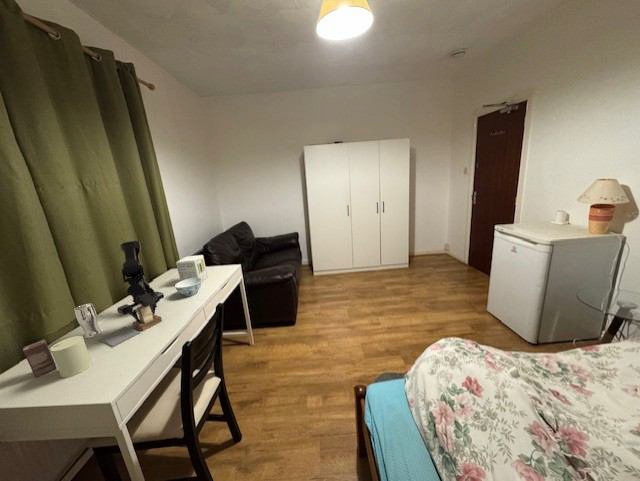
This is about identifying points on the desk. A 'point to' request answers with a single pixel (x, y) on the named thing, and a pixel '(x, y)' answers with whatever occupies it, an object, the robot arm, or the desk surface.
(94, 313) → the beer glass
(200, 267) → the supplement box
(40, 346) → the box
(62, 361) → the can
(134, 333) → the rubber mat
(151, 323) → the collar
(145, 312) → the peg
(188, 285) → the chinaware
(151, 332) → the desk surface
